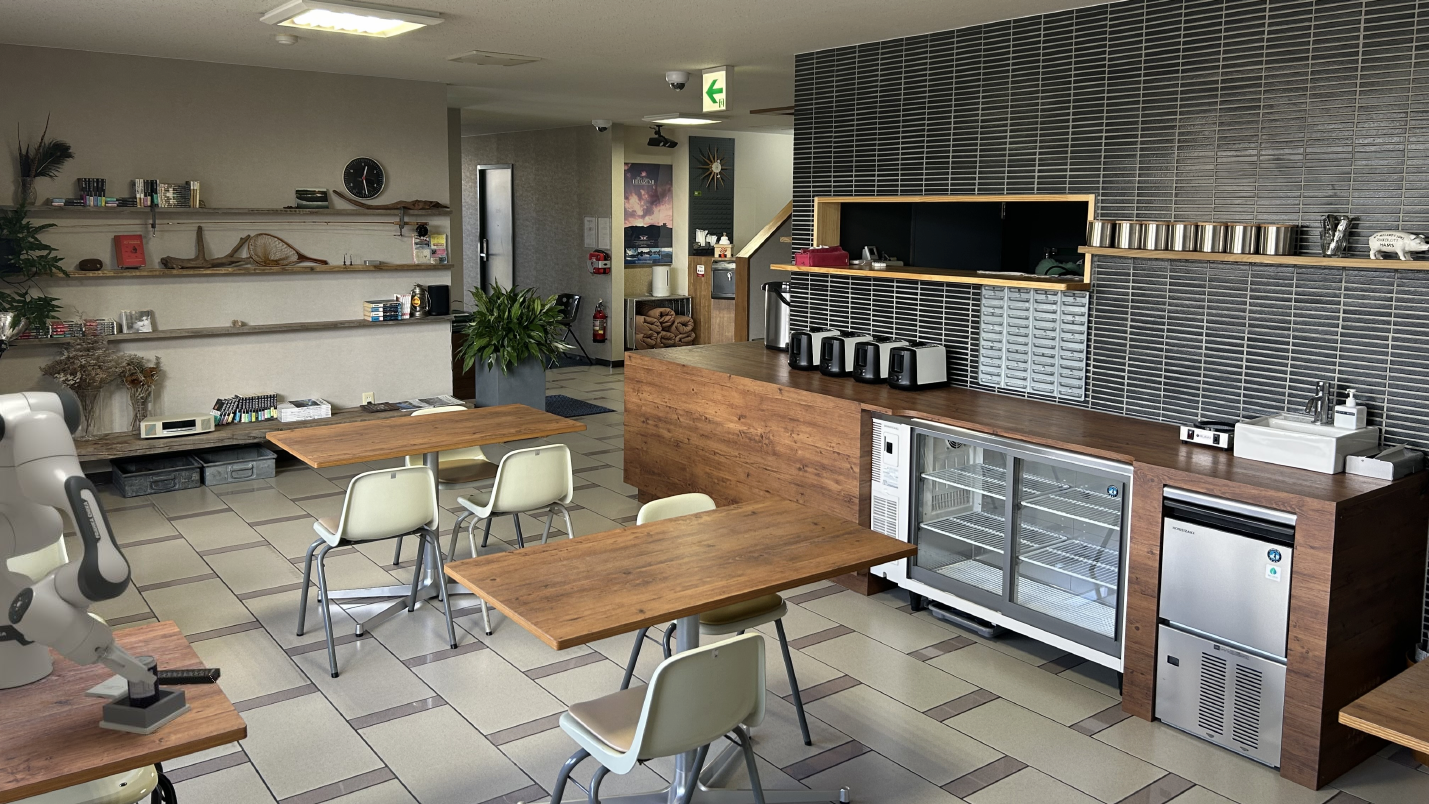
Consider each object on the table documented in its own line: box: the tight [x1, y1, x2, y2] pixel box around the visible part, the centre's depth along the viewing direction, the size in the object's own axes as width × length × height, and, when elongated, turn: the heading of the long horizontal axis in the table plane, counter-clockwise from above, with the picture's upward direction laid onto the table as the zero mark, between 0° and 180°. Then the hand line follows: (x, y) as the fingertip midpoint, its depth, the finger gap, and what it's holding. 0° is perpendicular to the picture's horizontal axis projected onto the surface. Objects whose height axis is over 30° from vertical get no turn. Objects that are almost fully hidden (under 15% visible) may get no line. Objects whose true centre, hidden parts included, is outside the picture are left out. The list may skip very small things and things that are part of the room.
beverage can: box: [127, 654, 160, 709], centre depth 220 cm, size 6×6×12 cm
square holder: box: [98, 686, 192, 735], centre depth 221 cm, size 12×12×4 cm
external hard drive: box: [83, 674, 128, 700], centre depth 237 cm, size 2×8×12 cm
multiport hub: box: [157, 667, 222, 686], centre depth 239 cm, size 4×14×2 cm, turn 96°
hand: (145, 673), depth 220 cm, fingers open, 8 cm apart
